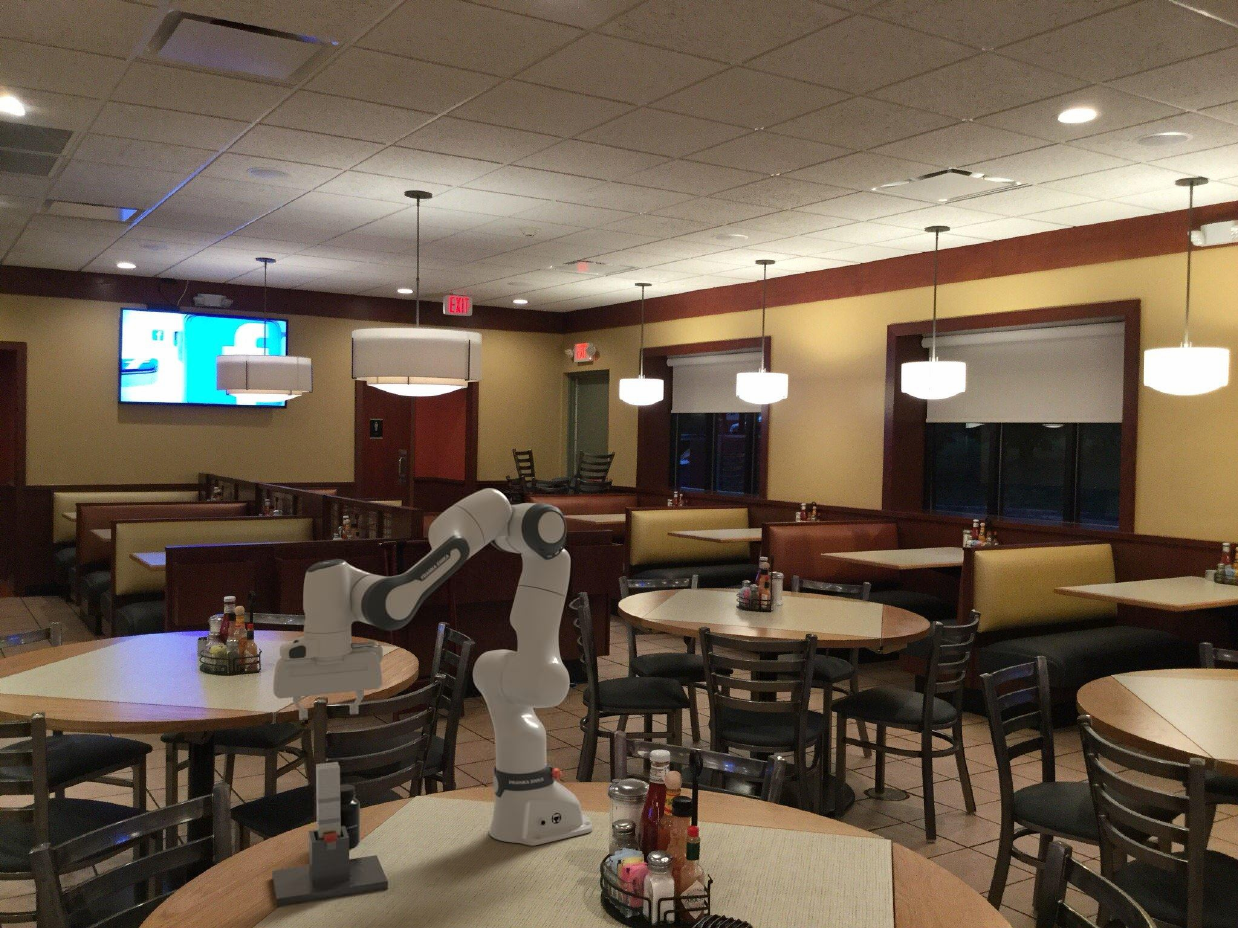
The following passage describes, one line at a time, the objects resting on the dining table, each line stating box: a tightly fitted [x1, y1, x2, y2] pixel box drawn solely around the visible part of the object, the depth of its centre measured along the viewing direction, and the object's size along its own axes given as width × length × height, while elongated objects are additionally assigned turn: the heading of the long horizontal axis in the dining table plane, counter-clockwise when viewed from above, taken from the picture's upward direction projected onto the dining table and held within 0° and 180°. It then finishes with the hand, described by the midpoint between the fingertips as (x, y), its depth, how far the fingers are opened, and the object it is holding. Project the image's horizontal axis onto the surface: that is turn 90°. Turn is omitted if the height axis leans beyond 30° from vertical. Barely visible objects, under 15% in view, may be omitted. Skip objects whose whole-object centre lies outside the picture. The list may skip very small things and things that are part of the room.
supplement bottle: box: [340, 784, 361, 849], centre depth 216 cm, size 7×7×12 cm
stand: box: [271, 826, 389, 908], centre depth 196 cm, size 20×14×10 cm
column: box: [315, 761, 341, 841], centre depth 196 cm, size 4×4×16 cm
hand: (329, 716), depth 197 cm, fingers open, 8 cm apart
